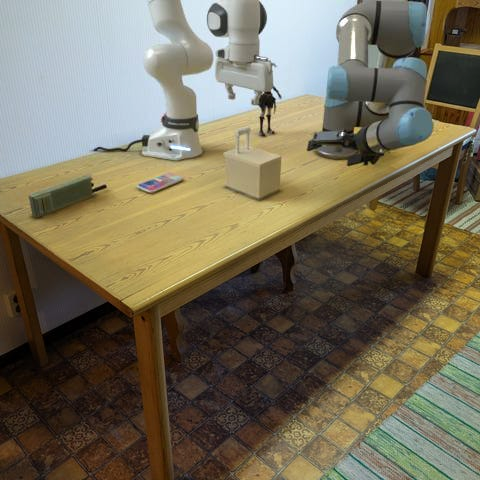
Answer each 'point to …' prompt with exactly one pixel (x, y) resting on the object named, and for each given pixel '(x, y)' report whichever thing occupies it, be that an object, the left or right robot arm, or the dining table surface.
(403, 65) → the right robot arm
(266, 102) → the figurine
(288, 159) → the dining table surface
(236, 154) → the lid
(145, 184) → the smartphone
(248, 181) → the chest
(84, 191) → the handheld radio
